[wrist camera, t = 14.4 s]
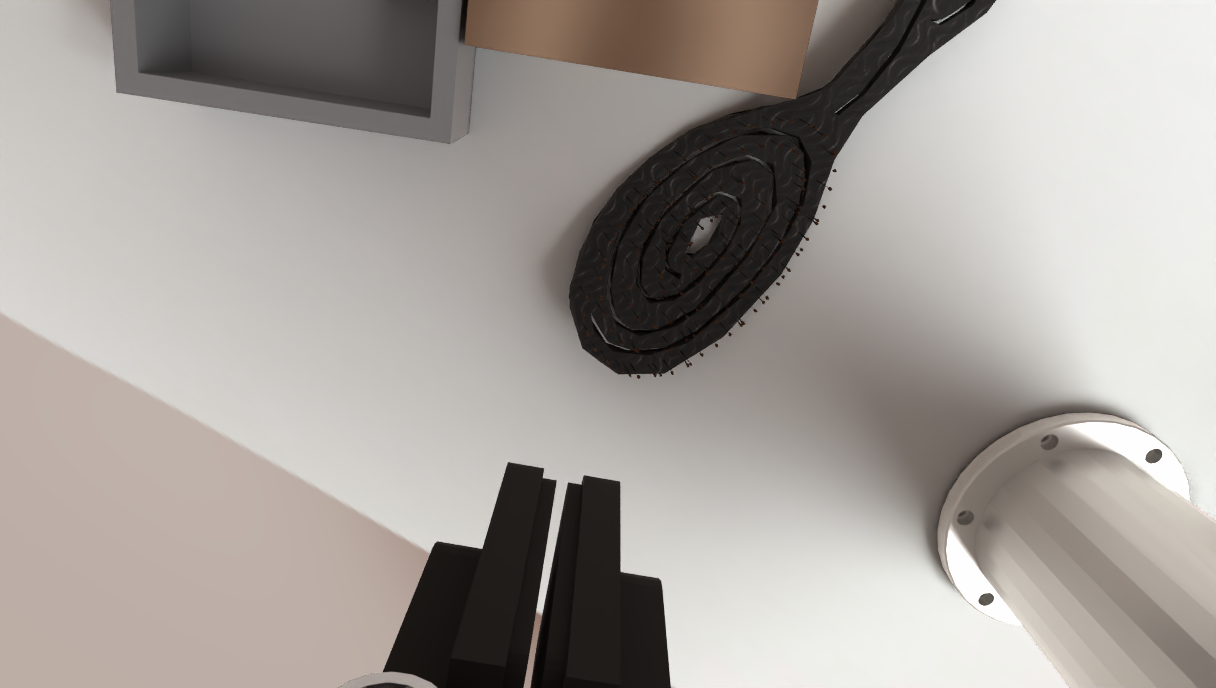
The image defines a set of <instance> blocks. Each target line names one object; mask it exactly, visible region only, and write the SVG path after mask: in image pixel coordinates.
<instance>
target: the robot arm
mask: <svg viewBox="0 0 1216 688" xmlns="http://www.w3.org/2000/svg"><path fill="white" fill-rule="evenodd" d="M543 472H544V468H538V467H533V466H527V465H521V464H515V463H510V462H508V464H507V467H506V470H505V474H504V477H503V481H502V484H501V487H500V491H499V494H498V498H497V501H496V504H495V508H494V511H493V515H492V518H491V521H490V525H489V528H488V532H487V535H486V539H485V542H484V545H483V549H479V548H473V547H467V546H461V545H455V544H449V543H443V542H436V543H435V544H434V546H433V548H432V551H431V553H430V556H429V558H428V561H427V563H426V566H425V568H424V571H423V573H422V576H421V578H420V581H419V583H418V586H417V588H416V590H415V593H414V595H413V598H412V601H411V603H410V605H409V608H408V611H407V613H406V615H405V618H404V620H403V623H402V626H401V628H400V630H399V633H398V635H397V638H396V640H395V643H394V645H393V648H392V650H391V653H390V655H389V658H388V660H387V663H386V665H385V668H384V670H383V673H371V674H368V675H364V676H361V677H358V678H355V679H352V680H349V681H348V682H346V683H344V684H343V685H341V686H340V687H338V688H523V687H524V682H525V676H526V670H527V664H528V658H529V652H530V646H531V640H532V634H533V627H534V621H535V614H536V608H537V602H538V596H539V589H540V583H541V577H542V570H543V564H544V558H545V551H546V545H547V539H548V532H549V526H550V520H551V513H552V507H553V501H554V494H555V488H556V480H551V479H545V478H543ZM937 535H938V551H939V555H940V559H941V562H942V566H943V568H944V570H945V572H946V573H947V575H948V577H949V579H950V581H951V582H952V584H953V585H954V586H955V588H956V589H957V590H958V591H959V593H960V594H961V595H962V597H963V598H964V599H965V600H966V601H967V602H968V603H969V604H970V605H972V606H973V607H974V608H975V609H977V610H978V611H980V612H982V613H984V614H986V615H988V616H989V617H991V618H993V619H996V620H999V621H1002V622H1006V623H1009V624H1013V625H1019V626H1022V627H1023V628H1024V629H1025V630H1026V632H1027V633H1028V634H1029V636H1030V637H1031V638H1032V640H1033V641H1034V642H1035V643H1036V645H1037V646H1038V647H1039V649H1040V650H1041V651H1042V653H1043V654H1044V655H1045V656H1046V658H1047V659H1048V660H1049V662H1050V663H1051V664H1052V666H1053V667H1054V668H1055V669H1056V671H1057V672H1058V673H1059V675H1060V676H1061V677H1062V679H1063V680H1064V681H1065V682H1066V684H1067V685H1068V686H1069V688H1216V520H1215V519H1213V518H1212V517H1211V516H1209V515H1208V514H1206V513H1205V512H1204V511H1202V510H1201V509H1200V508H1198V507H1197V506H1195V505H1194V504H1193V503H1191V502H1190V494H1189V486H1188V480H1187V477H1186V475H1185V472H1184V470H1183V467H1182V465H1181V462H1180V461H1179V460H1178V458H1177V457H1176V456H1175V454H1174V453H1173V452H1172V450H1171V449H1170V448H1169V447H1168V446H1167V445H1166V444H1165V443H1163V442H1162V441H1161V440H1160V439H1158V438H1157V437H1156V436H1155V435H1153V434H1152V433H1150V432H1148V431H1147V430H1145V429H1143V428H1142V427H1140V426H1138V425H1137V424H1135V423H1133V422H1131V421H1128V420H1125V419H1122V418H1119V417H1116V416H1113V415H1106V414H1098V413H1091V412H1089V413H1067V414H1062V415H1057V416H1053V417H1048V418H1043V419H1040V420H1038V421H1035V422H1032V423H1030V424H1027V425H1025V426H1022V427H1019V428H1017V429H1016V430H1014V431H1012V432H1010V433H1009V434H1007V435H1005V436H1003V437H1002V438H1000V439H998V440H996V441H995V442H994V443H993V444H991V445H990V446H989V447H988V448H986V449H985V450H984V451H983V452H981V453H980V454H979V455H978V456H977V457H976V458H975V459H974V460H973V461H972V462H971V463H970V464H969V465H968V466H967V467H966V469H965V470H964V471H963V472H962V473H961V474H960V476H959V478H958V479H957V481H956V482H955V484H954V485H953V487H952V488H951V490H950V491H949V494H948V496H947V498H946V501H945V503H944V506H943V508H942V510H941V515H940V520H939V525H938V530H937ZM531 688H671V685H670V674H669V662H668V650H667V638H666V626H665V615H664V603H663V591H662V584H661V580H660V579H659V578H653V577H647V576H641V575H635V574H629V573H623V572H620V482H619V481H614V480H608V479H602V478H596V477H591V476H585V475H584V477H583V481H582V485H580V484H574V483H568V485H567V490H566V495H565V500H564V506H563V511H562V516H561V521H560V526H559V532H558V537H557V542H556V547H555V552H554V558H553V563H552V568H551V573H550V578H549V584H548V589H547V594H546V599H545V604H544V610H543V615H542V620H541V625H540V631H539V637H538V642H537V648H536V654H535V661H534V667H533V675H532V681H531Z"/></svg>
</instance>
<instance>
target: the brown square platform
mask: <svg viewBox="0 0 1216 688" xmlns="http://www.w3.org/2000/svg"><path fill="white" fill-rule="evenodd" d="M817 5H818V0H468V9H467V21H466V33H465V45H467V46H473V47H479V48H485V49H492V50H498V51H504V52H510V53H516V54H522V55H528V56H534V57H540V58H546V59H552V60H559V61H565V62H571V63H577V64H583V65H589V66H595V67H601V68H607V69H613V70H619V71H626V72H632V73H638V74H644V75H650V76H656V77H662V78H668V79H674V80H680V81H686V82H693V83H699V84H705V85H711V86H717V87H723V88H729V89H735V90H741V91H747V92H753V93H760V94H766V95H772V96H778V97H784V98H790V99H796V96H797V92H798V88H799V83H800V79H801V74H802V70H803V66H804V61H805V57H806V53H807V48H808V44H809V40H810V35H811V31H812V27H813V22H814V18H815V14H816V9H817Z"/></svg>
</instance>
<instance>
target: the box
mask: <svg viewBox="0 0 1216 688" xmlns="http://www.w3.org/2000/svg"><path fill="white" fill-rule="evenodd" d="M110 5H111V20H112V34H113V48H114V63H115V77H116V91H117V93H124V94H130V95H137V96H143V97H150V98H156V99H163V100H169V101H176V102H182V103H189V104H195V105H202V106H208V107H214V108H221V109H227V110H234V111H240V112H247V113H253V114H260V115H266V116H273V117H279V118H286V119H292V120H299V121H305V122H312V123H318V124H325V125H331V126H338V127H344V128H351V129H357V130H364V131H370V132H377V133H383V134H390V135H396V136H403V137H409V138H416V139H422V140H429V141H435V142H442V143H448V144H451V143H453V142H454V141H456V140H458V139H459V138H461V137H463V136H465V135H466V134H468V133H469V122H470V110H471V98H472V87H473V75H474V64H475V52H476V47H473V46H467V45H465V33H466V21H467V9H468V0H438V2H431V1H423V0H110Z"/></svg>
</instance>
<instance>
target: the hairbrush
mask: <svg viewBox="0 0 1216 688" xmlns="http://www.w3.org/2000/svg"><path fill="white" fill-rule="evenodd" d="M995 1H996V0H898V1H897V3H896V4H895V6H894V7H893V9H892V11H891V12H890V14H889V15H888V17H887V19H886V20H885V21H884V23H883V24H882V25H881V26H880V27H879V28H878V29H877V30H876V31H875V33H874V34H873V35H872V36H871V37H870V38H869V39H868V40H867V42H866V43H865V44H864V45H863V46H862V47H861V48H860V49H859V51H858V52H857V53H856V54H855V55H854V56H853V57H852V58H851V60H850V61H849V62H848V63H847V64H846V65H845V66H844V67H843V69H842V70H841V71H840V72H839V73H838V74H837V75H836V76H835V78H834V79H833V80H832V81H831V82H830V83H828V84H827V85H826V86H824V87H823V88H821V89H818V90H816V91H813V92H811V93H808V94H806V95H803V96H801V97H798V98H796V99H793V100H790V101H787V102H784V103H780V104H776V105H769V106H762V107H759V108H755V109H752V110H747V111H742V112H737V113H732V114H736V115H733V116H730V117H727V118H724V119H720V120H717V121H716V120H715V121H713V122H711V123H708V124H705V125H702V126H699V127H696V128H694V129H692V130H690V131H689V132H687V133H686V134H684V135H683V136H681V137H680V138H678V139H676V140H675V141H673V142H672V143H670V144H669V145H667V146H666V147H664V148H663V149H661V150H660V151H659V152H657V153H656V154H655V155H653V156H652V157H651V158H649V159H648V160H647V161H646V162H645V163H644V164H643V165H642V166H641V167H640V168H639V169H638V170H637V171H635V172H634V173H633V174H632V175H631V176H630V177H629V178H628V179H627V180H626V181H625V182H624V183H623V184H622V185H621V186H620V187H619V188H618V189H617V190H616V191H615V193H614V194H613V196H612V197H611V199H610V200H609V202H608V203H607V204H606V206H605V207H604V208H603V209H602V211H601V212H600V213H599V215H598V216H597V217H596V219H595V220H594V222H593V224H592V227H591V230H590V232H589V234H588V236H587V238H586V240H585V242H584V244H583V247H582V249H581V251H580V253H579V257H578V261H577V265H576V268H575V272H574V276H573V279H572V282H571V285H570V292H569V299H570V310H571V313H572V316H573V319H574V323H575V326H576V329H577V332H578V336H579V339H580V342H581V345H582V348H583V349H584V350H586V351H587V352H588V353H589V354H591V355H592V356H593V357H595V358H596V359H597V360H599V361H600V362H601V363H603V364H604V365H606V366H607V367H609V368H610V369H611V370H613V371H614V372H616V373H617V374H628V375H629V376H630V377H631V374H653V375H654V377H656V374H660V377H661V376H662V374H664V373H666V372H668V371H669V370H671V369H672V368H674V367H676V366H677V365H679V364H680V363H682V362H684V361H685V360H687V359H688V358H690V357H692V356H693V355H695V354H696V353H698V352H700V351H701V350H703V349H704V348H706V347H708V346H709V345H711V344H713V343H714V342H716V341H717V340H719V339H721V338H722V337H723V336H724V335H725V334H726V333H727V332H728V331H729V330H730V329H731V328H732V327H733V326H734V324H735V323H736V322H738V320H740V318H741V317H742V316H743V315H744V314H745V313H746V312H747V311H748V309H749V308H750V307H751V306H752V305H753V304H754V303H755V302H756V301H757V300H758V299H760V297H761V295H762V294H763V293H764V292H765V291H766V290H767V289H768V288H769V287H770V286H771V285H772V284H773V283H774V281H775V280H776V279H777V278H778V277H779V276H780V275H781V274H782V272H783V270H784V269H785V268H786V269H787V270H788V271H789V272H791V270H790V269H788V268H787V267H786V265H787V264H788V262H789V260H790V259H791V257H792V255H793V253H794V252H795V250H796V248H797V247H798V245H799V243H800V242H801V240H802V238H803V237H804V238H805V239H806V240H807V241H809V238H806V237H805V236H804V235H805V233H806V231H807V230H808V228H809V226H810V225H811V223H812V221H813V220H814V219H815V218H814V217H815V214H816V211H817V208H818V205H819V204H820V203H819V202H820V200H821V197H822V194H823V191H824V188H825V185H826V182H827V180H828V177H829V174H830V171H831V168H832V165H833V163H834V160H835V158H836V156H837V155H838V153H839V152H840V150H841V149H842V147H843V146H844V144H845V142H846V141H847V139H848V138H849V136H850V135H851V133H852V131H853V130H854V128H855V127H856V125H857V124H858V122H859V120H860V119H861V117H862V116H863V115H864V114H865V113H866V112H867V111H868V110H869V109H871V108H872V107H873V106H874V105H875V104H876V103H877V102H878V101H879V100H880V99H882V98H883V97H884V96H885V95H886V94H887V93H888V92H889V91H890V90H892V89H893V88H894V87H895V86H896V85H897V84H898V83H899V82H900V81H901V80H903V79H904V78H905V77H906V76H907V75H908V74H909V73H910V72H911V71H912V70H914V69H915V68H916V67H917V66H918V65H919V64H920V63H921V62H922V61H923V60H925V59H926V58H927V57H928V56H929V55H931V54H932V53H933V52H935V51H936V50H937V49H939V48H940V47H941V46H943V45H944V44H945V43H947V42H948V41H949V40H951V39H952V38H953V37H955V36H956V35H957V34H959V33H960V32H961V31H963V30H964V29H965V28H967V27H968V26H969V25H971V24H972V23H973V22H975V21H976V20H978V19H979V18H980V17H982V16H983V15H984V14H986V13H987V12H988V10H989V9H990V8H991V6H992V5H993V4H994V2H995ZM966 3H967V4H966ZM965 4H966V5H965ZM963 5H965V6H964V7H963V8H962V9H961V10H960V11H958V12H957V13H955V14H954V15H952V16H950V17H949V18H947V19H946V20H944V21H942V22H941V23H939V24H937V23H935V22H933V21H937V20H939V19H943V18H945V17H947V16H948V15H950V14H952V13H953V12H955V11H956V10H958V9H959V8H960V7H962V6H963ZM890 54H891V55H890ZM886 59H887V60H886ZM857 95H858V96H857ZM855 96H856V97H855ZM854 97H855V98H854ZM853 98H854V99H853ZM851 99H853V100H851ZM850 100H851V101H850ZM849 101H850V102H849ZM848 102H849V103H848ZM846 103H848V104H846ZM845 104H846V105H845ZM844 105H845V106H844ZM842 106H844V107H843V108H841V107H842ZM840 108H841V109H840ZM839 109H840V110H839ZM837 110H839V111H837ZM836 111H837V112H836ZM835 112H836V113H835ZM738 113H739V114H738ZM729 115H731V114H729ZM726 116H727V115H726ZM724 117H725V116H724ZM722 118H723V117H722ZM758 128H770V129H773V130H776V131H778V132H781V133H784V134H786V135H789V136H792V137H794V138H797V139H798V142H799V145H800V149H801V150H800V149H799V148H798V147H797V146H796V145H795V144H794V143H793V142H792V141H791V140H790V139H789V138H788V137H787V136H785V135H778V134H771V133H766V132H762V131H759V132H757V133H756V132H753V133H748V134H744V135H740V136H737V137H734V138H731V139H728V140H725V141H722V142H720V143H718V144H716V145H714V146H712V147H711V148H709V149H707V150H705V151H703V152H701V153H699V154H698V155H696V156H695V157H693V158H691V159H690V160H688V161H687V162H685V163H684V164H682V165H681V166H680V167H679V168H677V169H676V170H675V171H674V172H673V173H671V172H672V171H671V170H672V169H673V168H674V167H675V166H676V165H678V164H679V163H680V162H681V161H682V160H683V161H686V157H687V156H688V155H689V154H691V153H692V152H694V151H696V150H698V149H699V150H701V151H702V147H704V146H707V145H709V144H711V143H713V142H715V141H718V140H719V139H722V138H724V137H726V136H728V135H730V134H732V133H736V132H737V131H741V130H749V129H758ZM742 155H749V156H752V157H755V158H758V159H760V160H763V161H766V163H767V164H768V165H769V166H770V168H771V170H772V171H773V173H774V176H775V178H774V187H773V197H772V210H771V213H770V215H769V217H768V218H767V214H768V208H769V201H770V194H771V188H772V181H773V175H772V174H771V173H770V172H769V171H768V170H767V169H766V168H765V167H764V166H763V165H762V164H761V163H760V162H758V161H755V160H748V159H747V160H740V161H733V162H731V163H728V164H725V165H723V166H720V167H717V168H715V169H713V170H711V171H710V172H709V173H707V174H706V175H705V176H704V177H702V178H701V179H700V180H698V181H697V182H696V183H694V184H693V185H692V186H691V187H690V188H689V189H688V190H687V191H686V192H685V193H684V191H683V190H684V189H685V188H686V187H688V186H689V185H690V184H691V183H692V182H693V181H694V180H697V178H699V176H700V175H701V174H702V173H703V172H704V171H705V170H706V169H707V168H710V169H711V168H712V166H713V165H716V164H719V163H722V162H725V161H728V160H731V159H734V158H737V157H739V156H742ZM804 165H805V168H806V170H805V169H804ZM805 171H806V173H805V176H804V172H805ZM668 172H669V173H671V174H670V175H669V176H668V177H667V178H665V179H664V180H663V181H662V182H661V183H660V179H661V178H662V177H663V176H665V175H666V174H667V173H668ZM833 172H836V169H834V170H833ZM656 182H657V183H656ZM804 183H805V186H804ZM654 184H655V185H656V186H657V185H658V186H657V187H656V188H655V189H654V190H653V191H652V192H651V194H650V195H649V196H648V197H647V198H646V199H645V196H644V195H645V194H646V192H647V191H648V189H649V188H650V187H652V186H653V185H654ZM803 187H804V188H803ZM826 187H827V186H826ZM828 190H829V191H831V190H832V188H831V187H829V188H828ZM801 191H802V192H803V191H804V194H803V196H802V192H801ZM714 192H725V193H728V194H730V195H733V196H736V198H737V201H738V203H739V205H740V207H741V214H740V217H737V203H736V202H735V201H734V200H733V199H732V198H730V197H727V196H724V195H720V194H718V195H715V196H714V194H713V193H714ZM680 193H684V194H683V195H682V196H681V197H680V198H679V199H678V200H677V201H676V202H675V200H673V199H674V198H675V197H677V196H678V195H679V194H680ZM800 194H801V196H802V198H801V196H800ZM709 195H711V196H714V197H712V198H711V199H708V196H709ZM799 196H800V201H799V205H797V202H798V199H799ZM642 198H643V199H645V200H644V201H643V202H642V203H641V204H640V206H639V207H638V208H637V209H636V211H635V212H634V214H633V215H632V217H631V218H630V219H629V217H630V216H631V214H632V213H633V211H634V210H635V208H636V207H637V205H638V204H639V202H640V201H641V199H642ZM704 198H706V200H707V201H706V202H705V203H703V204H702V205H700V206H699V207H697V208H696V209H694V210H693V209H692V208H693V207H694V206H695V205H696V203H698V202H699V201H701V200H703V199H704ZM672 200H673V202H674V204H673V205H672V206H671V204H669V203H670V202H671V201H672ZM667 205H669V207H670V208H669V209H668V210H667V211H666V212H665V213H664V215H663V217H662V219H661V220H660V219H659V217H660V215H661V213H662V212H663V210H664V209H665V207H666V206H667ZM796 205H797V206H798V207H797V209H796V210H794V209H795V207H796ZM822 207H823V208H824V209H825V208H826V206H825V205H822ZM691 210H692V212H691V213H690V214H689V212H690V211H691ZM794 211H795V213H794V215H793V212H794ZM688 214H689V216H687V215H688ZM717 214H720V215H722V219H721V221H720V223H719V224H718V226H717V228H716V230H715V232H714V233H713V235H712V237H711V239H710V241H709V243H708V245H706V246H705V247H703V248H702V249H700V250H699V251H697V252H696V253H694V254H686V253H685V251H686V249H687V246H689V247H690V246H691V244H693V242H690V240H691V238H692V236H693V234H694V232H695V230H696V228H697V226H698V225H699V221H700V219H702V218H706V217H708V218H709V217H710V216H713V215H714V216H715V218H718V216H717ZM792 215H793V217H792ZM791 217H792V219H791ZM685 218H686V220H685V222H684V223H682V221H683V220H684V219H685ZM766 218H767V220H766ZM628 219H629V221H628V222H627V220H628ZM709 219H710V218H709ZM737 220H738V223H737V225H736V222H737ZM765 220H766V222H765ZM790 220H791V221H790ZM815 220H816V221H817V222H815V221H813V222H814V223H815V224H816V225H818V224H819V223H818V222H819V219H815ZM657 221H660V222H659V224H657V227H656V229H655V231H654V232H653V234H652V236H651V237H650V239H649V240H647V242H646V243H645V245H644V249H643V253H642V258H641V263H640V284H641V286H642V288H643V289H644V291H645V292H646V294H647V295H648V296H649V297H650V298H647V297H645V296H644V295H643V294H642V293H641V291H640V289H639V287H638V284H637V282H636V280H637V271H638V265H639V259H640V253H641V247H642V245H643V243H644V241H645V240H646V238H647V236H649V233H650V232H651V230H652V229H654V225H655V223H656V222H657ZM710 221H711V222H713V219H710ZM626 222H627V224H626V227H625V229H624V231H623V234H622V236H621V239H620V241H619V244H618V246H617V249H616V252H615V256H614V259H613V265H612V273H611V287H610V294H611V303H612V306H613V308H614V310H615V314H616V315H617V317H618V318H619V319H620V320H621V321H622V322H623V323H624V324H625V325H626V326H628V327H629V328H630V329H651V330H630V329H628V328H627V327H625V326H623V325H622V324H620V323H618V322H617V321H615V319H614V318H613V315H612V312H611V309H610V306H609V302H608V299H607V291H606V287H607V282H608V277H609V272H610V267H611V262H612V257H613V252H614V247H615V242H616V238H617V236H618V233H619V232H620V231H621V229H622V228H623V226H624V225H625V223H626ZM763 223H764V226H763V228H762V229H761V231H760V233H759V235H758V234H757V232H758V230H759V229H760V227H761V226H762V224H763ZM788 224H789V225H788ZM679 225H680V228H679V229H678V231H677V233H676V234H675V236H674V237H673V239H670V241H671V243H670V244H668V243H667V241H668V239H669V238H670V237H671V236H672V234H673V233H674V232H675V230H676V229H677V228H678V227H679ZM735 225H736V228H735V231H734V234H733V237H732V239H731V240H730V241H729V240H728V238H729V236H730V234H731V232H732V230H733V228H734V226H735ZM699 226H700V225H699ZM787 226H788V227H787ZM786 227H787V230H786V232H785V234H784V236H783V238H782V240H780V237H781V235H782V234H783V232H784V231H785V229H786ZM700 228H701V229H702V230H704V227H701V226H700ZM756 234H757V235H758V237H756V238H757V239H756V240H755V242H754V243H753V245H752V246H751V247H750V248H749V250H748V251H747V252H746V251H745V250H746V248H747V247H748V245H749V244H750V242H751V241H752V239H753V238H754V236H755V235H756ZM727 240H728V241H729V243H728V244H727V246H726V245H725V244H726V242H727ZM778 240H779V241H780V243H779V245H778V246H777V248H776V249H775V251H774V252H773V253H772V252H771V251H772V250H773V248H774V246H775V245H776V243H777V242H778ZM689 242H690V244H689ZM666 243H667V245H668V247H669V248H668V250H669V252H668V251H667V252H668V256H667V253H666V255H665V248H666ZM724 246H725V248H724ZM723 248H724V250H723V251H722V252H721V253H720V251H721V250H722V249H723ZM744 251H745V252H746V254H745V255H744V256H743V257H742V259H741V260H740V261H739V259H740V257H741V256H742V254H743V253H744ZM800 251H803V249H802V248H800ZM719 253H720V255H718V254H719ZM770 253H772V255H771V256H770V258H769V259H768V261H767V262H766V264H765V265H764V266H763V264H764V262H765V261H766V259H767V258H768V256H769V254H770ZM795 253H796V252H795ZM689 255H692V256H689ZM717 255H718V257H717V258H716V259H717V260H716V259H715V257H716V256H717ZM796 255H797V256H799V255H800V254H799V253H796ZM665 258H666V262H667V264H668V266H669V267H670V269H672V270H674V271H676V272H678V273H671V272H670V271H668V270H667V269H666V267H665ZM714 259H715V260H716V261H714V262H713V263H712V265H711V266H710V267H709V268H708V269H707V267H708V266H709V265H710V263H711V262H712V261H713V260H714ZM738 261H739V263H738V264H737V265H735V264H736V263H737V262H738ZM734 265H735V266H734ZM733 266H734V269H733V270H731V268H732V267H733ZM762 266H763V267H762ZM705 269H707V270H706V271H705ZM760 269H761V270H760ZM730 270H731V271H730ZM759 270H760V271H759ZM704 271H705V272H704ZM729 271H730V272H729ZM758 271H759V272H758ZM703 272H704V273H703ZM728 272H729V273H728ZM757 272H758V273H757ZM702 273H703V274H702ZM727 273H728V274H727ZM756 273H757V274H756ZM701 274H702V275H701ZM726 274H727V275H728V276H727V275H726ZM755 274H756V276H755V277H754V278H753V279H752V280H751V282H750V283H748V282H749V281H750V279H751V278H752V277H753V276H754V275H755ZM699 275H700V276H699ZM725 275H726V276H725ZM698 276H699V277H701V278H700V279H699V280H697V279H698V278H699V277H698ZM724 276H725V278H724V279H723V277H724ZM697 277H698V278H697ZM781 277H782V278H783V279H784V277H785V276H784V275H783V276H781ZM696 278H697V279H696ZM722 279H723V280H722ZM696 280H697V281H696ZM721 280H722V281H721ZM692 281H693V282H692ZM695 281H696V282H695ZM720 281H721V282H722V283H721V282H720ZM691 282H692V283H691ZM719 282H720V283H721V284H720V283H719ZM690 283H691V284H690ZM718 283H719V284H718ZM747 283H748V285H747V287H746V288H745V289H743V290H742V291H741V292H740V293H739V294H738V296H737V297H736V298H734V297H735V296H736V294H737V293H738V292H739V291H740V290H741V289H742V288H743V287H744V286H745V285H746V284H747ZM689 284H690V285H689ZM717 284H718V285H717ZM776 284H777V285H778V286H779V285H780V284H779V283H778V282H776ZM687 285H689V286H688V287H686V286H687ZM716 285H717V286H716ZM715 286H716V287H715ZM685 287H686V288H685ZM684 288H685V289H684ZM716 288H717V289H716ZM683 289H684V290H683ZM713 289H714V290H715V289H716V290H715V291H714V290H713ZM681 290H683V291H682V292H680V291H681ZM712 290H713V291H714V292H713V291H712ZM710 292H711V293H710ZM709 293H710V294H709ZM708 294H709V295H708ZM670 295H672V296H670ZM707 295H708V296H707ZM663 296H669V297H666V298H664V299H660V300H656V299H651V298H656V297H663ZM706 297H707V298H706ZM705 298H706V299H705ZM765 298H766V299H769V298H768V296H766V297H765ZM704 299H705V300H704ZM703 300H704V301H703ZM760 300H761V299H760ZM702 301H703V303H702V304H700V303H701V302H702ZM761 301H762V300H761ZM762 303H763V304H764V303H765V301H762ZM699 304H700V305H699ZM754 312H757V310H756V309H754ZM591 314H592V316H593V317H594V319H595V321H596V323H597V325H598V327H599V328H600V330H601V332H602V333H603V335H604V336H605V338H606V339H607V341H608V342H609V343H612V344H615V345H618V346H620V347H623V348H626V349H629V350H625V349H622V348H620V347H617V346H614V345H611V344H608V343H606V342H605V340H604V339H603V337H602V336H601V334H600V333H599V331H598V329H597V328H596V326H595V325H594V323H593V322H592V319H591ZM740 321H741V320H740ZM738 323H739V322H738ZM741 323H742V324H743V325H745V323H744V322H743V321H741ZM742 324H740V323H739V325H740V327H742ZM654 328H659V329H654ZM731 335H732V334H731V333H730V332H729V336H731ZM715 346H716V347H718V344H715ZM653 348H658V349H653ZM641 349H645V350H641ZM700 355H701V356H702V357H703V355H704V354H703V353H700ZM688 362H689V361H688ZM685 363H686V361H685ZM686 365H687V367H689V365H691V366H692V363H691V362H690V363H689V364H687V363H686ZM671 374H672V375H674V374H673V371H671ZM637 378H638V379H639V378H640V376H639V375H637Z"/></svg>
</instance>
